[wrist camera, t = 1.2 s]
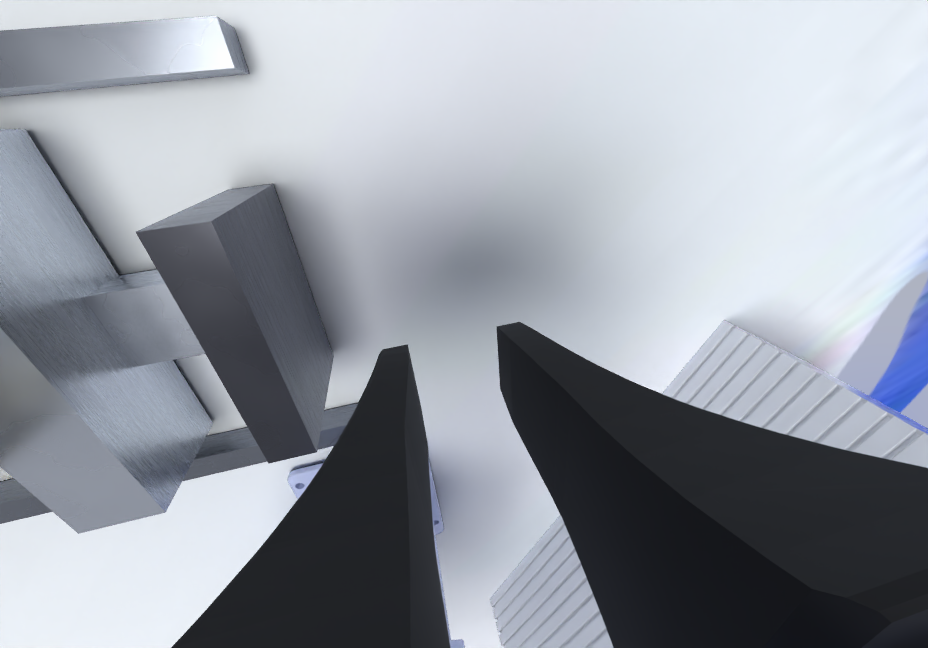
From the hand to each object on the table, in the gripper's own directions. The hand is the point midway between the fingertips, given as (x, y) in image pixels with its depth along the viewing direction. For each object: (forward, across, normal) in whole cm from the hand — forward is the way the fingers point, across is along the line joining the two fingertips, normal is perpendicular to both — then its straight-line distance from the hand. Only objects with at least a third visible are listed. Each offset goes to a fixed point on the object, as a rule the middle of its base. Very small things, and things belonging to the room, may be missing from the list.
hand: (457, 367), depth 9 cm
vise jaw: (+8, +10, 0) cm, 13 cm away
